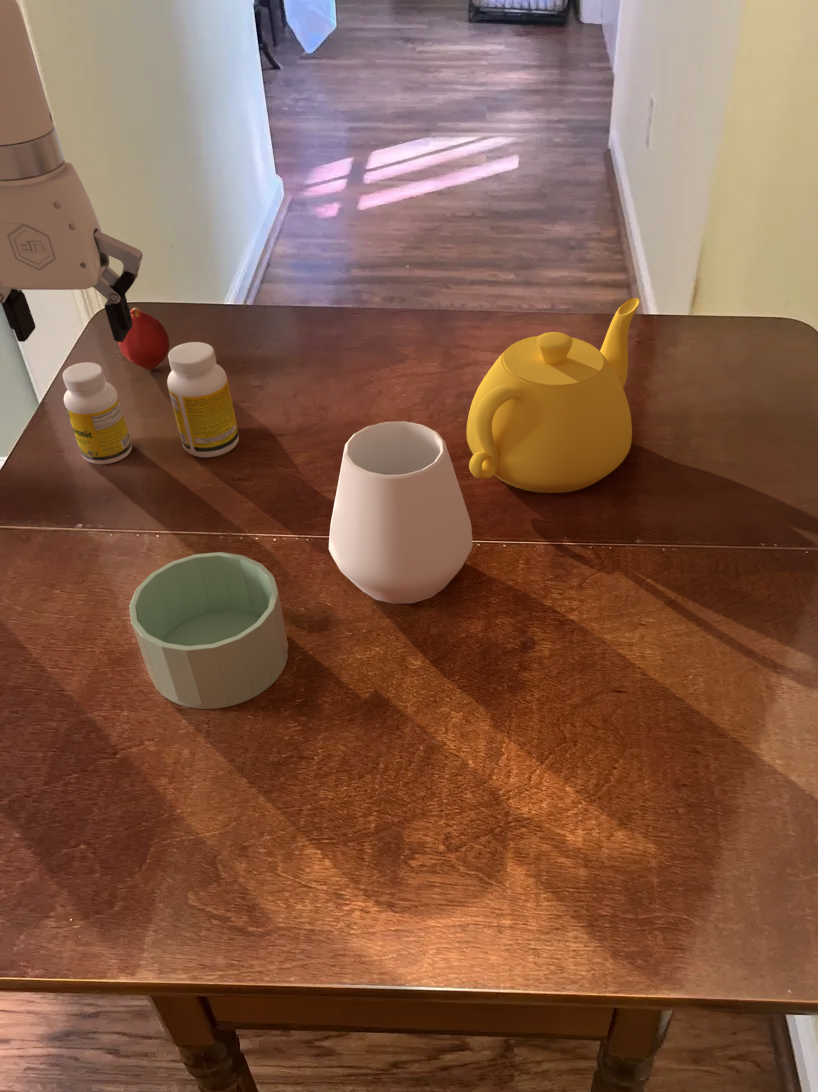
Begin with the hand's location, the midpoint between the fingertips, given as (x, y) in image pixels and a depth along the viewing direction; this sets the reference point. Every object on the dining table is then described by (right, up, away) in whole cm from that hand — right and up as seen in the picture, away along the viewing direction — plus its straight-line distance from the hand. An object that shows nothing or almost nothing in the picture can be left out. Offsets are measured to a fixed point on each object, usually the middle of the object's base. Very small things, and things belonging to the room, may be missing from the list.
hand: (75, 335), depth 98 cm
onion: (0, +3, +22) cm, 23 cm away
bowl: (+18, -32, -13) cm, 39 cm away
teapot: (+49, -10, +10) cm, 51 cm away
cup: (+33, -24, -4) cm, 41 cm away
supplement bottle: (0, -10, +10) cm, 14 cm away
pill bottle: (+11, -9, +11) cm, 18 cm away
